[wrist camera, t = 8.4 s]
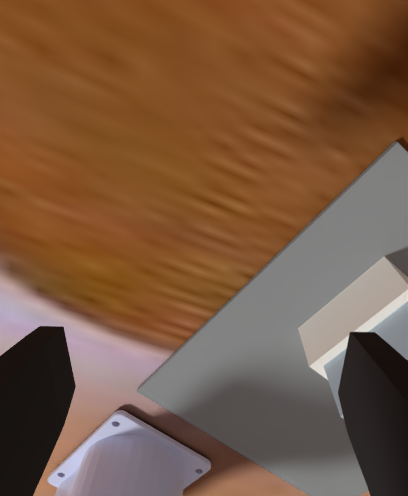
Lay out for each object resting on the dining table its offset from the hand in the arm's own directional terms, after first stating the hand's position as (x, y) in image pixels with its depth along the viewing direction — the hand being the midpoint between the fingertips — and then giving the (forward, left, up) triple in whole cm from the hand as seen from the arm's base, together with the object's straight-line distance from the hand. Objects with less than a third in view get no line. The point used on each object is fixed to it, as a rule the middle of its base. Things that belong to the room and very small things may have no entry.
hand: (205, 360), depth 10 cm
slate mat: (-2, -13, -10) cm, 17 cm away
